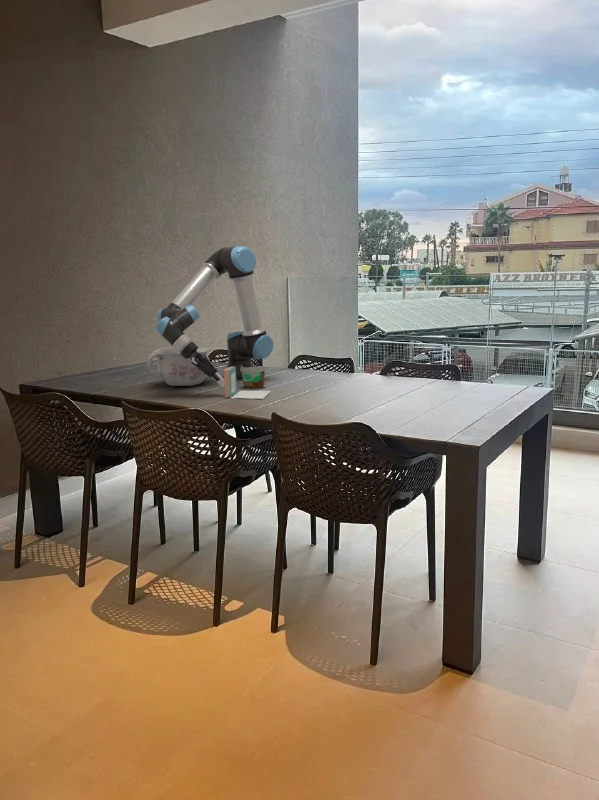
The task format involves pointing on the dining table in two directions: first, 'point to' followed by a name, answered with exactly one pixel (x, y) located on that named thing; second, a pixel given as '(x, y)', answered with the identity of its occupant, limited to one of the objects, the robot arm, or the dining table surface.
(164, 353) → the chamber pot
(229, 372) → the tile
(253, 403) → the dining table surface
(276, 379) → the dining table surface
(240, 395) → the mat
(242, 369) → the food container
